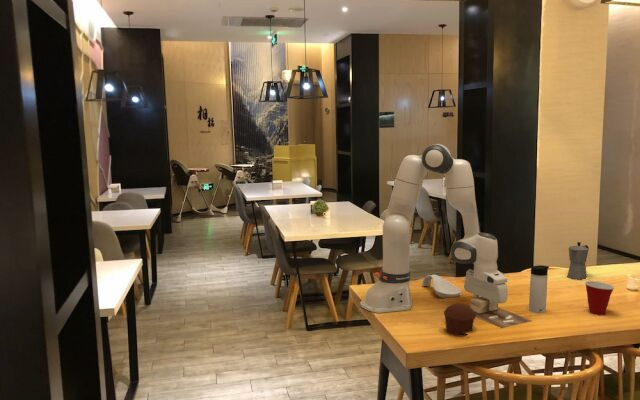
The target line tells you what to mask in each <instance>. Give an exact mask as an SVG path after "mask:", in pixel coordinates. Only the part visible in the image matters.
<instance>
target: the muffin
mask: <svg viewBox="0 0 640 400" xmlns="http://www.w3.org/2000/svg"><path fill="white" fill-rule="evenodd" d="M443 315H444V318H445V326H446V332H447V333H449V334H450V335H455V336H458V337H459V336H460V337H461V336H462V337H463V336H465V337H466V336H469V334H467V333H468V332H470V331H472V330H473V327H474V326H473V325H474V320H475V319H476V314H475V312H474V311H473V310H472V309H471V308H470V306H468V304H465V303H464V304H463V303H452V304H450V305H448V306H447V307H446V308H445V309H444V311H443Z"/></svg>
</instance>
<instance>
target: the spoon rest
mask: <svg viewBox="0 0 640 400" xmlns="http://www.w3.org/2000/svg"><path fill="white" fill-rule="evenodd" d="M431 285H432V286H433V287H432V288H433V290H434V293H435V294H436V295H437V296H438V297H439V298H441V299H449V298H456V297H460V295H461V294H462V289H460V288H459V287H458V286H456V285H455V284H453V283H451V282H450V281H448V280H447V279H445V278H444V277H441V276H439V275H438V274H432V275H431V274H428V275H426V276H425V277H424V278H423V280H422V283H421V287H422V286H423V288H425V287H424V286H427V287H431Z"/></svg>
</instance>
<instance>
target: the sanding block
mask: <svg viewBox="0 0 640 400" xmlns="http://www.w3.org/2000/svg"><path fill="white" fill-rule="evenodd" d="M488 305H490V302H489V299H486V298H483V297H481V296H479V297H478V298H474V297H473V298H470V305H469V307H470V308H471V309H472V310H473V311H474V312H475V313H476V314H479V315H481V314H485V313H490V312H494V311H498V308H499V303H497V302H496V303H495V304H494V306H493V310H492V311H490V310H487V306H488Z"/></svg>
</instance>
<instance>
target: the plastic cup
mask: <svg viewBox="0 0 640 400" xmlns="http://www.w3.org/2000/svg"><path fill="white" fill-rule="evenodd" d="M584 284H585V289H586V290H585V291H586V296H587V304H588V311H589V313H590V314H593V315H596V314H597V315H598V316H603V315H605V314H606V313H607V309H608V306H609V303H610V299H611V296H612V292H613V290H614V289H616V288H615V286H614V285H612V284H609V283H606V282H601V281H594V280H586V281H584Z"/></svg>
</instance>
